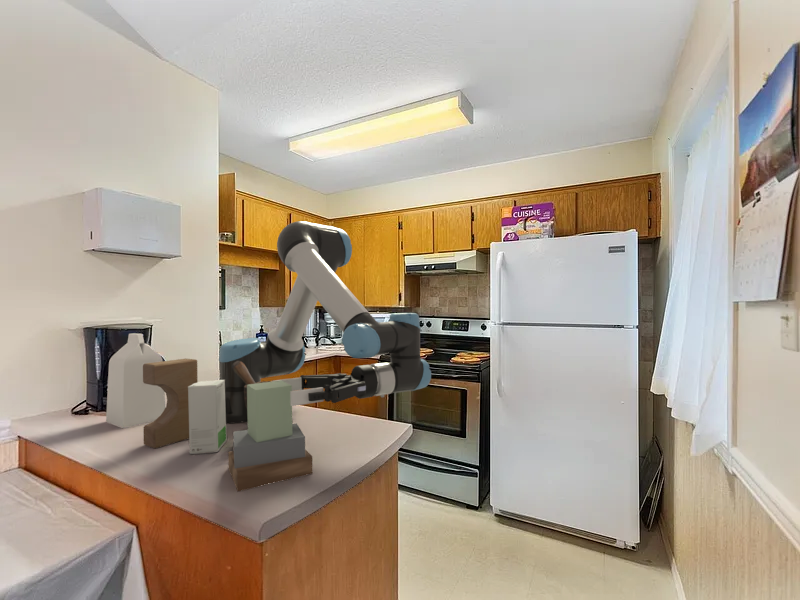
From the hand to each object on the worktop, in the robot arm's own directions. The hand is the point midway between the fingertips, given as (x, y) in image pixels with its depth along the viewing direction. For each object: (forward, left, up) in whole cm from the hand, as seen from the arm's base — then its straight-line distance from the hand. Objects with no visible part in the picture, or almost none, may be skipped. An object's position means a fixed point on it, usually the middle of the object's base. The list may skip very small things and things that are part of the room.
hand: (280, 392), depth 82 cm
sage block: (0, -2, -8) cm, 9 cm away
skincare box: (-22, -11, -16) cm, 30 cm away
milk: (-61, -26, -16) cm, 69 cm away
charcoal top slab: (0, -3, -12) cm, 12 cm away
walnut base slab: (0, -2, -16) cm, 16 cm away
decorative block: (-33, -18, -16) cm, 41 cm away
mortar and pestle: (-24, +1, -16) cm, 29 cm away
